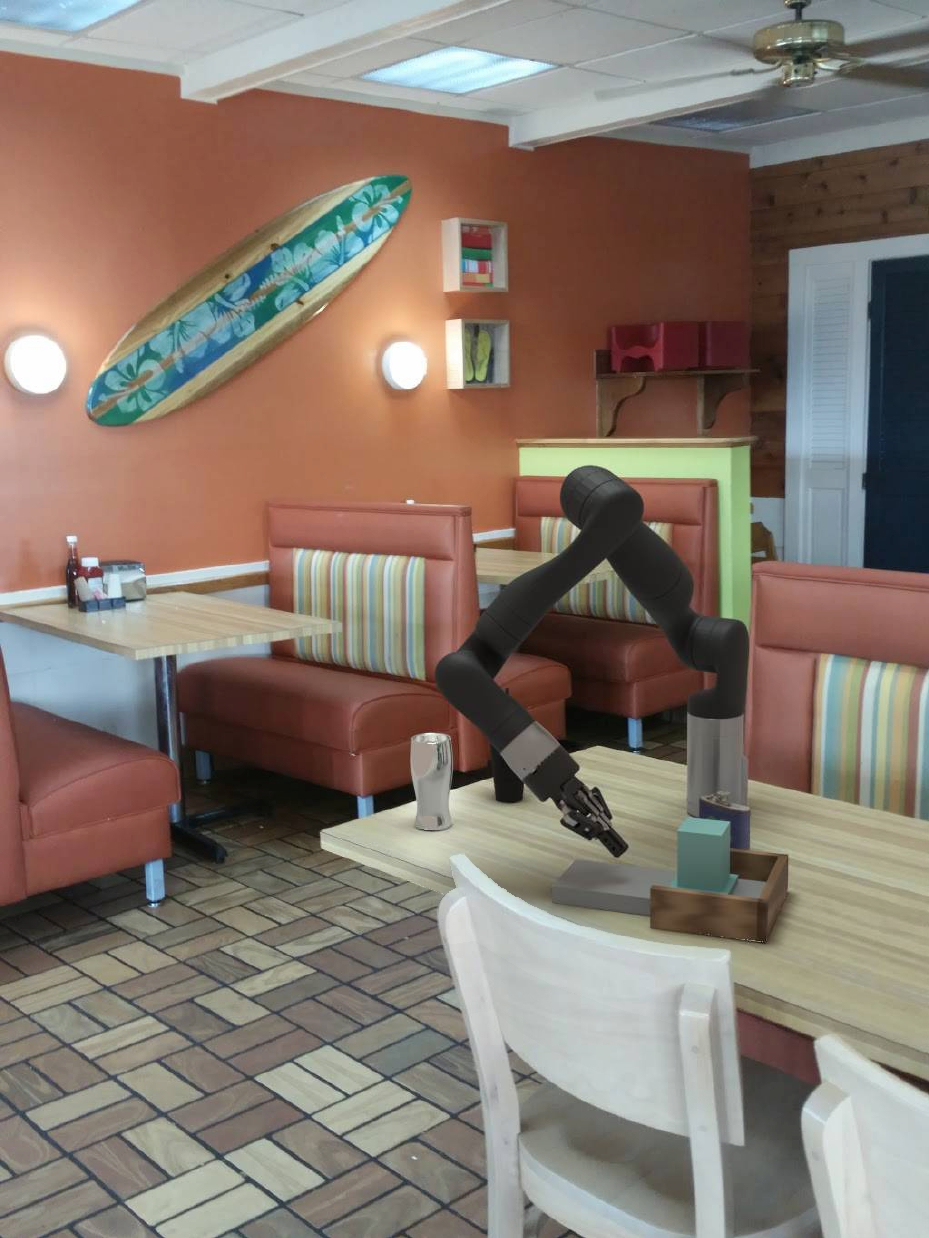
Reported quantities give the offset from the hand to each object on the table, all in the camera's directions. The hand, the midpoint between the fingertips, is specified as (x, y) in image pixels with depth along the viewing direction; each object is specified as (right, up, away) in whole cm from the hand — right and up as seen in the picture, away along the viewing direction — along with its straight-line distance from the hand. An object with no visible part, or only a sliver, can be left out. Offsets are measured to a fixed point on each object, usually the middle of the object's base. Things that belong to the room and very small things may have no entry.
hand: (623, 853), depth 180 cm
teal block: (+11, -4, -3) cm, 12 cm away
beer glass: (-27, -2, +33) cm, 43 cm away
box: (+12, -7, -3) cm, 15 cm away
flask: (+17, -4, +15) cm, 23 cm away
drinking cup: (-14, +1, +46) cm, 48 cm away
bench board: (+5, -7, 0) cm, 8 cm away
